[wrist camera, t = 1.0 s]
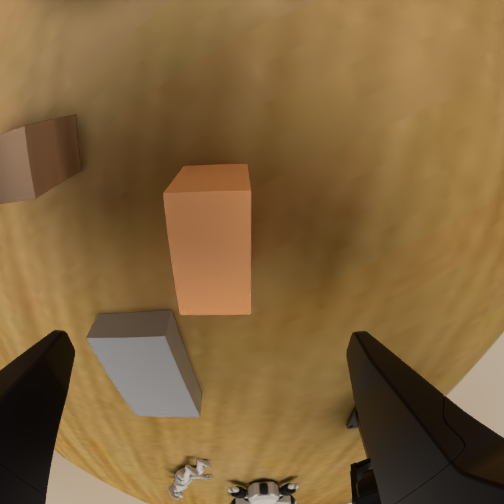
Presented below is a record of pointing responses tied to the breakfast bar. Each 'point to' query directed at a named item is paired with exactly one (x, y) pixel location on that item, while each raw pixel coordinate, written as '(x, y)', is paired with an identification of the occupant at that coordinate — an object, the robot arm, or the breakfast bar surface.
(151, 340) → the grey brick
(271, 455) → the breakfast bar surface
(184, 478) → the white plastic figure
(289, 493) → the robot toy
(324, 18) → the breakfast bar surface
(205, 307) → the orange brick
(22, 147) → the walnut brick
